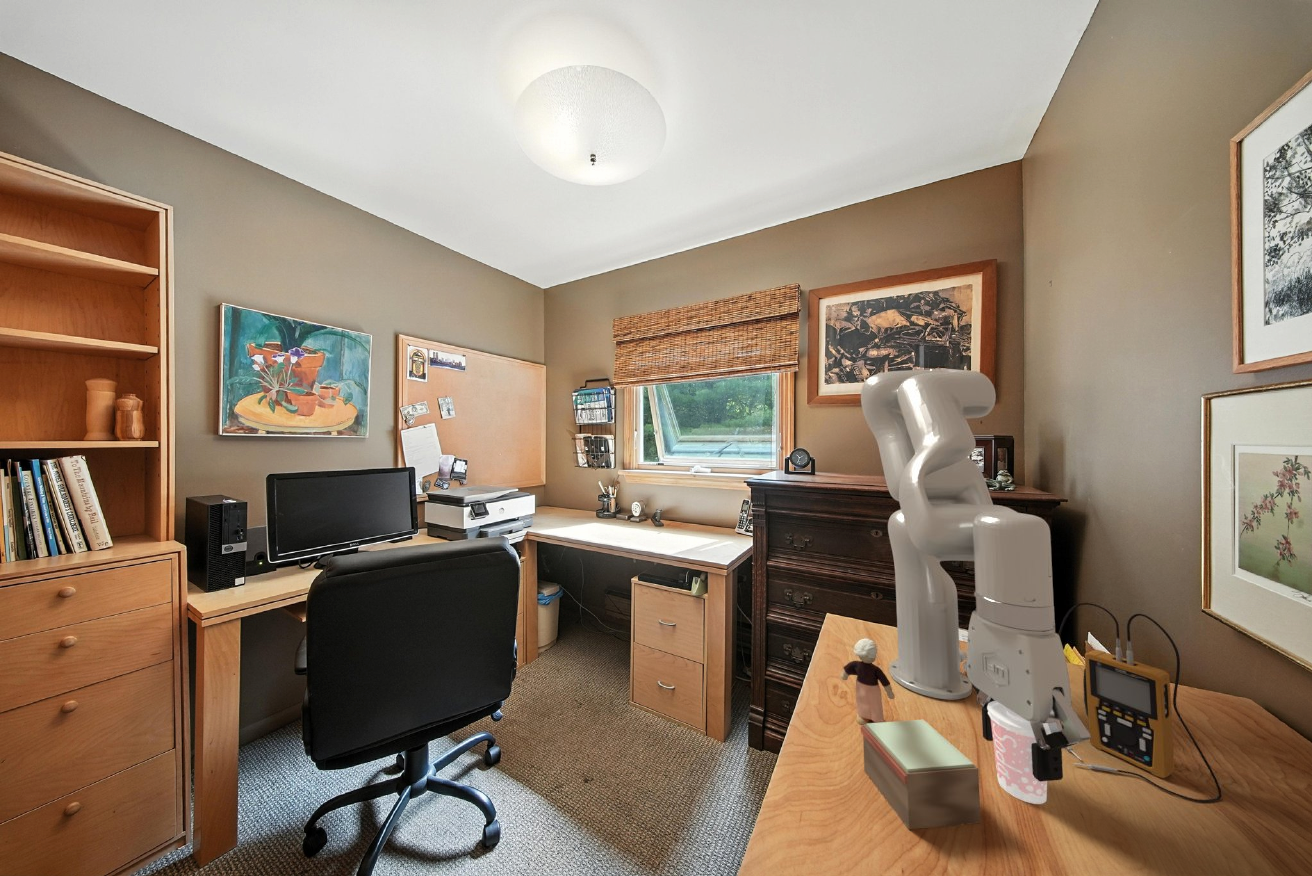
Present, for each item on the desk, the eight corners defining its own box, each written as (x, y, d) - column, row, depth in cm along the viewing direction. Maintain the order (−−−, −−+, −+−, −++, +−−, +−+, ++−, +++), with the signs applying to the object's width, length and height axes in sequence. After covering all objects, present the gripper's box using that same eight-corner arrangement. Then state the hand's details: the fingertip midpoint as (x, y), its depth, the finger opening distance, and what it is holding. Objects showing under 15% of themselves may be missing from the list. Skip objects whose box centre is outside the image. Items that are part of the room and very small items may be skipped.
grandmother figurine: (897, 723, 64) (894, 640, 65) (895, 737, 61) (892, 650, 62) (843, 707, 69) (841, 629, 69) (839, 719, 65) (836, 638, 66)
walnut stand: (925, 765, 56) (923, 717, 56) (980, 822, 47) (978, 765, 47) (862, 770, 55) (860, 722, 55) (906, 829, 46) (904, 771, 47)
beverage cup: (980, 766, 55) (975, 659, 56) (1033, 773, 54) (1028, 664, 55) (1008, 804, 49) (1003, 685, 50) (1069, 813, 48) (1063, 690, 49)
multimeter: (1029, 743, 60) (1022, 602, 60) (1065, 724, 64) (1059, 592, 64) (1190, 827, 46) (1179, 644, 47) (1224, 797, 50) (1213, 628, 51)
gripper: (934, 590, 61) (939, 716, 60) (1057, 644, 44) (1066, 821, 43) (982, 588, 61) (987, 712, 61) (1122, 640, 44) (1131, 814, 44)
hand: (1020, 756), depth 52 cm, fingers closed on beverage cup, 6 cm apart
